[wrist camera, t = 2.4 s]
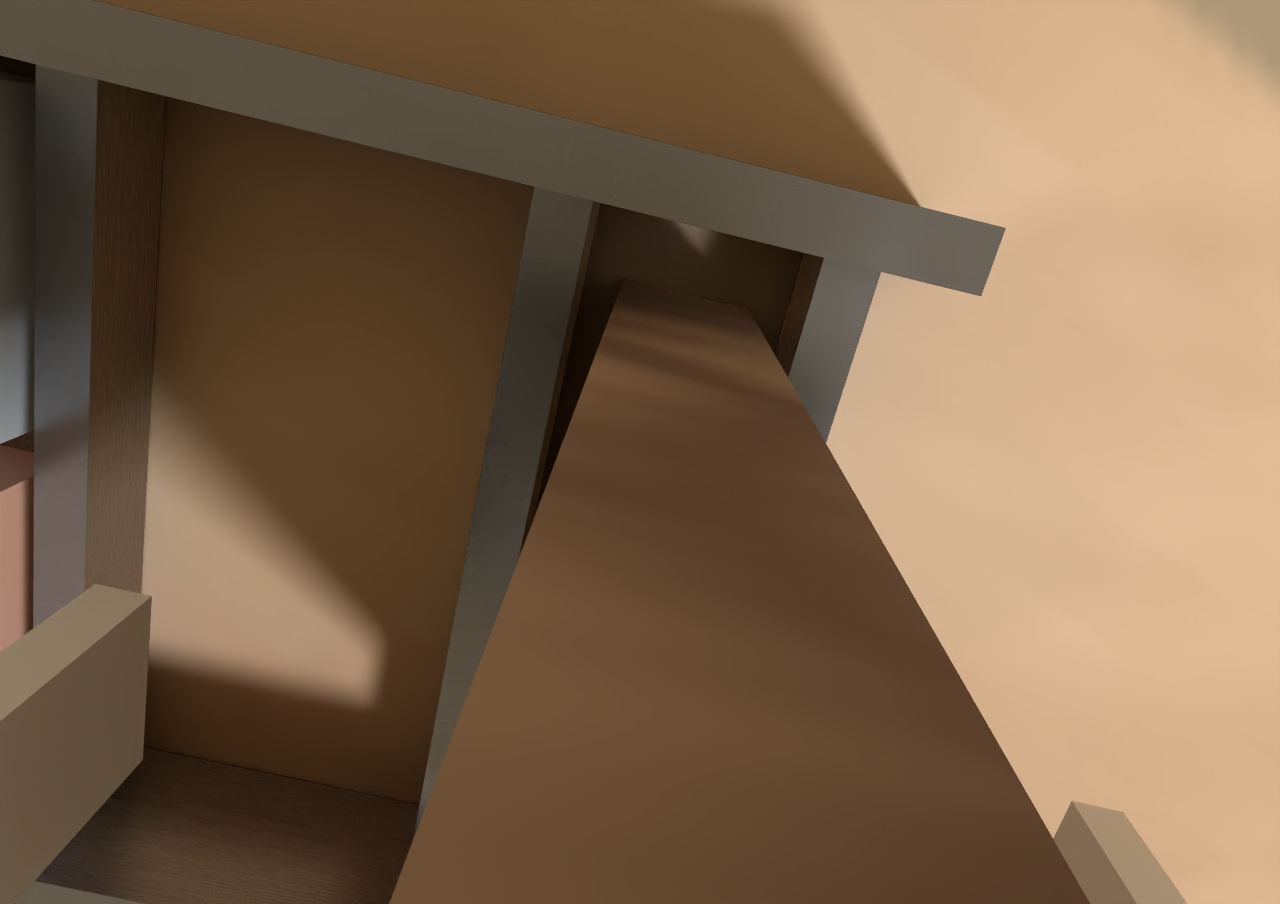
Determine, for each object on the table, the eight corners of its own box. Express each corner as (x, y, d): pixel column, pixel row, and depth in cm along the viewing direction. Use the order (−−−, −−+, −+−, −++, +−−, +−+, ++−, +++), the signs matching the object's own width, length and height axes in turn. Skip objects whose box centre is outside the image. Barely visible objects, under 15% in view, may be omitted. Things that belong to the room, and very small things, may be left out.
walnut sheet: (512, 772, 20) (69, 2519, 5) (624, 278, 17) (181, 1456, 1) (614, 793, 21) (466, 2573, 5) (747, 308, 17) (1546, 1690, 2)
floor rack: (-128, 723, 20) (-310, 850, 17) (-183, -64, 15) (-468, -140, 11) (698, 896, 21) (705, 1054, 18) (925, 213, 16) (1005, 227, 12)
